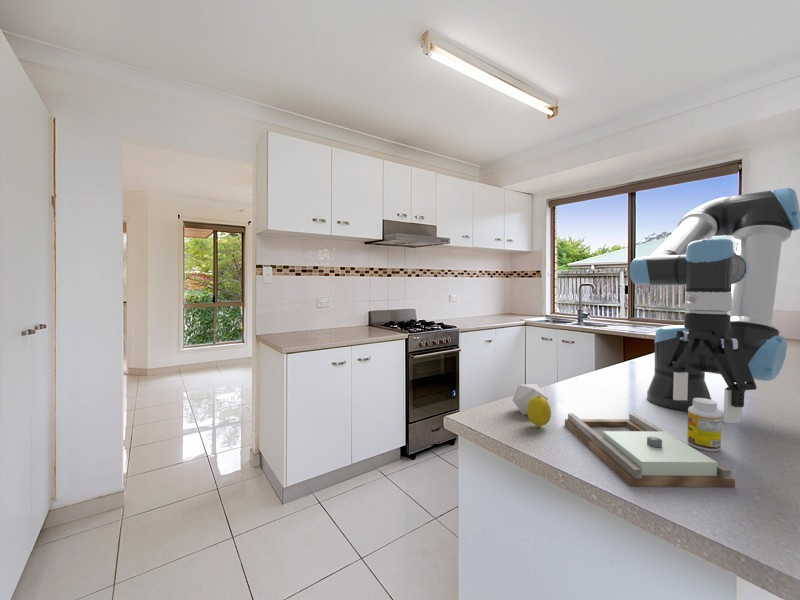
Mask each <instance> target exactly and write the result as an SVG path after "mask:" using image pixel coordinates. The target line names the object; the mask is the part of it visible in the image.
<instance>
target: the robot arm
mask: <svg viewBox="0 0 800 600" xmlns="http://www.w3.org/2000/svg"><path fill="white" fill-rule="evenodd" d="M798 199H799V198H798V196H797V192H796V190H795V189H793V188H790V187H786V188H778V189H777V188H776V189H774V188H772V189H769V190H764V191H759V192H752V193H747V194H745V193H744V194H737V195H732V196H725V197H724V196H723V197H719V198H715V199H713V200H710V201H708V202H706V203H703V204H702V205H701V204H700V205H699V206H698V207H696V208H694V209H692V210H691V211H689V212H688V213H687V214H685V215H684V216H683V217H682V218H681V219H680V221H679V222H678V223H677V228H676V229H675V230H674V231H673V232H672V234H671V235H669V236H668V238H666V239H665V241H664V242H662V243H661V245H660V246H658V247H657V249H655V251H654V252H653V253H652V254H651V255H649V256H641V257H640V256H639V257H636V258H634V259H633V260H632V261H631V262H630V265H629V275H630V276H629V278H630V279H631V282H632V284H634V285H637V286H648V287H649V286H685V297H684V298H685V301H684V302H685V303H684V309H685V310H686V311H687V312H685V313H684V320H683V321H684V322H683V324H676V325H665V326H660V327H658V328H657V329H656V330H655V338H654V341H653V343H654V375H653V377H652V379H651V381H650V384H649V387H648V388H647V391H646V399H647V401H648V402H650V403H653V404H655V405H656V406H657V405H658V406H660V407H664V408H668V409H673V410H679V411H685V412H686V411H687V412H688V408H689V407H690V406H693V404H692V403H693V398H705V399H710V400H712V397H711V394H710V391H709V389H708V386H707V383H706V380H705V377H706V373H708V374H715V375H721V376H722V379H723V380H724V382H725V383H726V385H727V387H725V388H724V392H723V393H724V394H723V395H724V399H723V422H724V423H737V424H738V423H740V424H741V423H742V411H743V410H742V408H744V406H745V393H746V391H751V390H752V391H756V390H757V385H756V381H764V382H769V381H772V380H775V379H776V378H777V377H778V376H779V374H780V373H781V370H782V369H783V365H784V363H785V360H786V356H787V355H786V354H787V348H788V341H787V338H786V337H785V336H782V335H780V329H779V328H777V327H776V326H775V325H774V324H773V315H774V307H775V299H776V293H777V292H776V290H777V283H778V275H779V268H780V259H781V252H782V243H784V242H786V241H787V240H789V239H790V238H791V235H792V231H797V230H800V205H799V200H798ZM729 236H731V238H732V240H733V241H734V242H736V243H737V250H736V252H735V250H734V242H733V241H732V240H731V239H728V238H720V237H729ZM718 237H719V238H718Z"/></svg>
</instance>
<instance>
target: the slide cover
mask: <svg viewBox="0 0 800 600" xmlns="http://www.w3.org/2000/svg"><path fill="white" fill-rule="evenodd" d="M603 438H604V439H605V440H606V441H607V442H608V443H610V444H611V445H612V446H613V447H615V448H616V449H617V450H618V451H619V452H621V453H622V454H623V455H624V456H626V457H627V458H628V459H629V460H630V461H632V462H633V463H634V464H635V465H637V466H638V467H639V468H640V469H641V470H642V475H655V476H717V463H718V462H717V461H715V460H714V459H713V458H711V457H710V456H707V455H705V454H704V453H702V452H700V451H699V450H697V449H696V448H695V447H693V446H691V445H690V444H687V443H685V442H683V441H682V440H680V439H678V438H676V437H675V436H673V435H671V434H670V433H668V432H666V431H665V430H663V431H603Z"/></svg>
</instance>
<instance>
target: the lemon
mask: <svg viewBox="0 0 800 600" xmlns="http://www.w3.org/2000/svg"><path fill="white" fill-rule="evenodd" d="M551 409H552V408H551V405H550V403H549V402H548V400H547V401H546V400H545V399H544V398H542V397H541V396H537V397H534V398H533V399H531V400H530V402H529V404H528V408H527V414H528V415H527V416H528V419H529V421H530V422H531V423H532V424H534V425H535V426H536V427H537V428H541V427H543V426H545V425H547V424H548V423H549V422H550V420H551V417H552V410H551Z"/></svg>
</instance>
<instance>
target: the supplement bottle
mask: <svg viewBox="0 0 800 600" xmlns="http://www.w3.org/2000/svg"><path fill="white" fill-rule="evenodd" d="M692 404H693V406H690V407H689V408H688V411H687V433H686V434H687V437H686V438H687V440H686V441H687V442H688V445H689V446H690V447H692V448H694V449H698V450H701V451H706V452H717V451H718V452H719V451H720V450H721V449H722V420H723V419H722V413H721V411H719V410H718V402H717V401H715V400H710V399H705V398H693V403H692Z"/></svg>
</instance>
